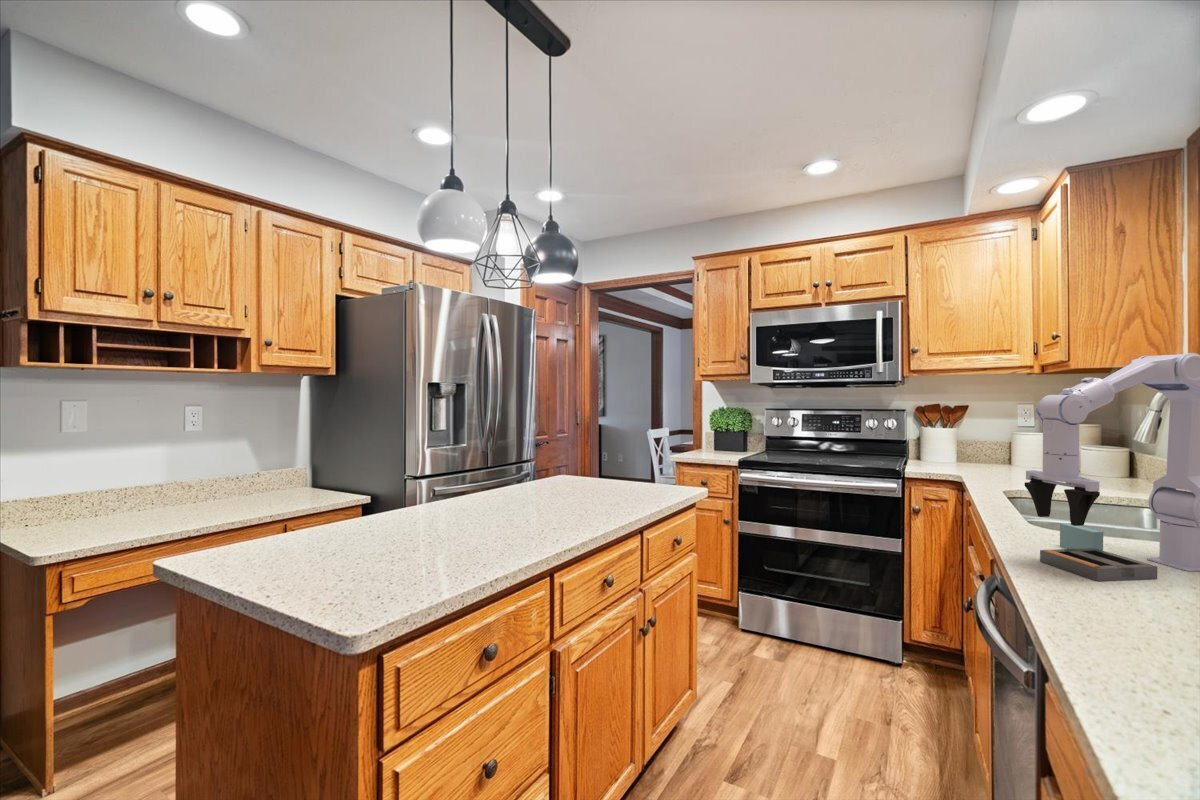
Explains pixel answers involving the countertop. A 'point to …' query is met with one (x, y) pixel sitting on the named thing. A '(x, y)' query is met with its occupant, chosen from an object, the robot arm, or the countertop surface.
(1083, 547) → the panel
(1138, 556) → the countertop surface
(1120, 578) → the panel rack
